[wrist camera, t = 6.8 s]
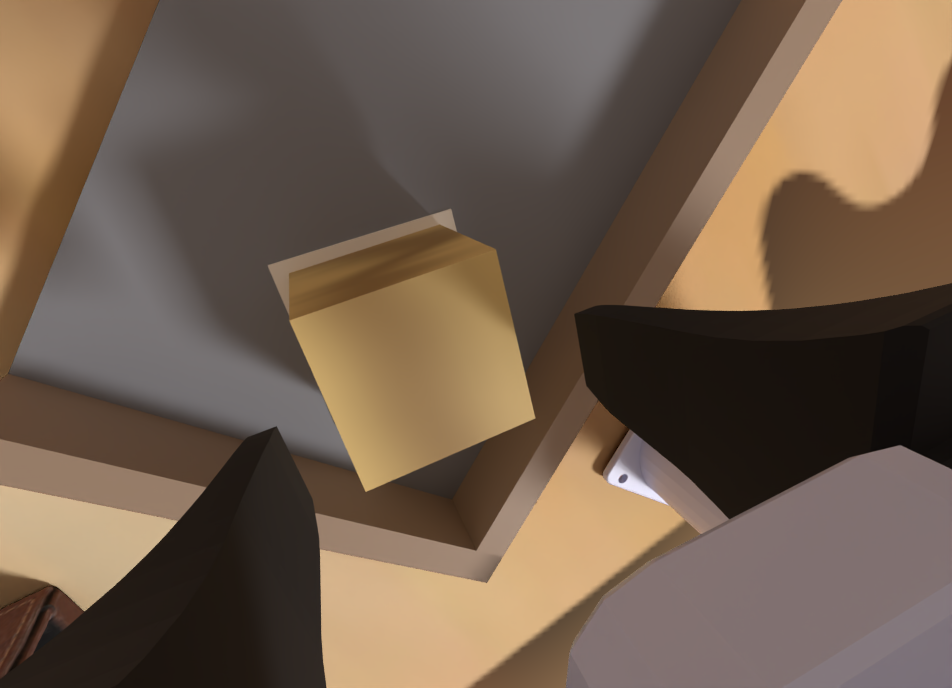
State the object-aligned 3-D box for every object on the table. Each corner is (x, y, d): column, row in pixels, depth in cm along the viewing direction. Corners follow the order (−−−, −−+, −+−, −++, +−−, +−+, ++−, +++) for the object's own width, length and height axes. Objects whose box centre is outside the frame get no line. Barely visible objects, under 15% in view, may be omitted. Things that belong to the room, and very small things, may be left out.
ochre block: (439, 224, 16) (496, 249, 12) (476, 355, 18) (535, 418, 14) (289, 273, 15) (289, 320, 11) (346, 406, 17) (365, 492, 13)
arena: (760, -9, 19) (870, -48, 15) (455, 514, 22) (487, 582, 18) (374, -495, 11) (414, -787, 8) (10, 394, 15) (-76, 469, 11)
